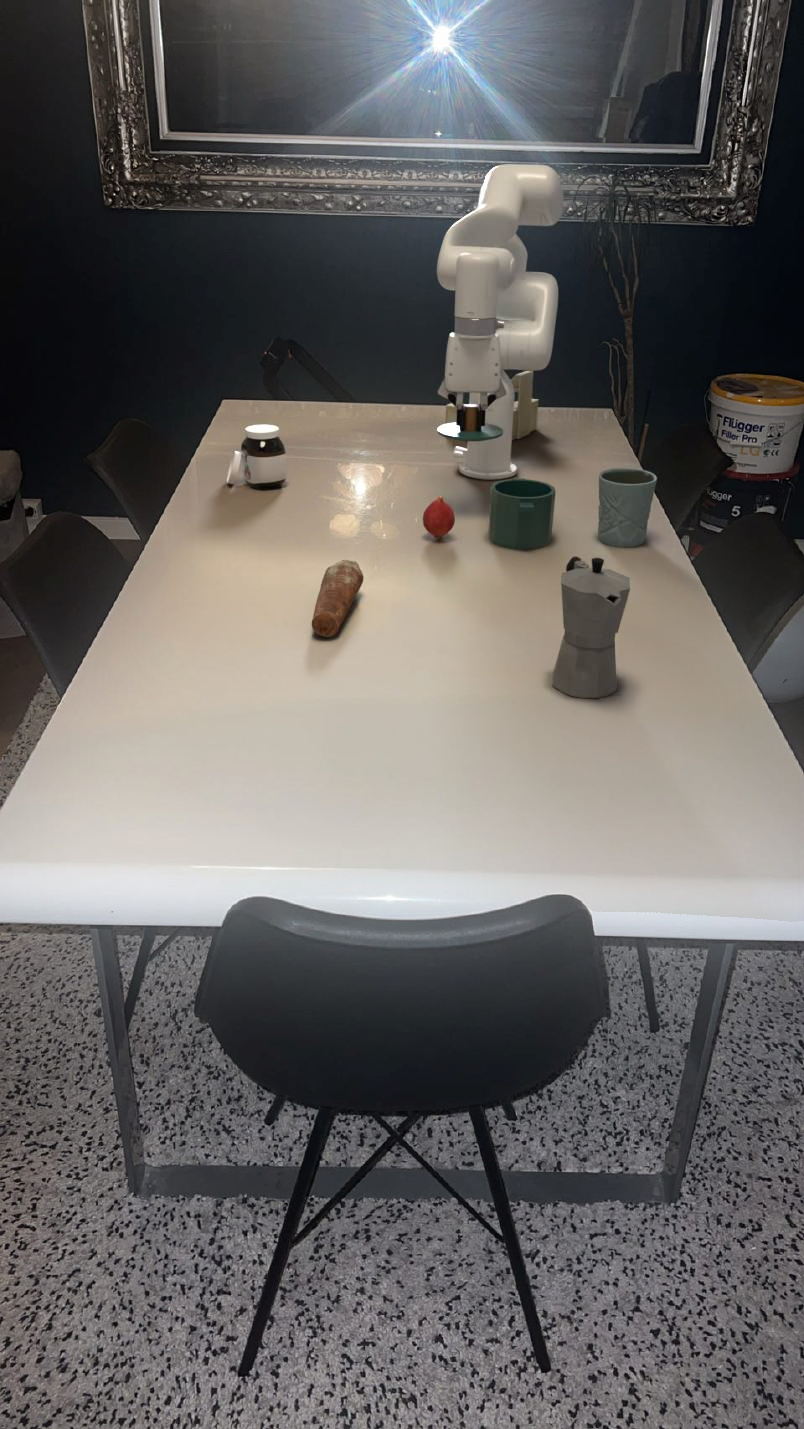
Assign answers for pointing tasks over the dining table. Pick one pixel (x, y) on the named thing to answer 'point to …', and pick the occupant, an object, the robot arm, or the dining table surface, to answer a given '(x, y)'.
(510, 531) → the pot
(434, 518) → the onion
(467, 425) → the pot lid
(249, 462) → the spread jar
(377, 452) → the dining table surface
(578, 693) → the coffeepot
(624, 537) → the light blue cup
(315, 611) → the brown root vegetable
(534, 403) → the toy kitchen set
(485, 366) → the robot arm
